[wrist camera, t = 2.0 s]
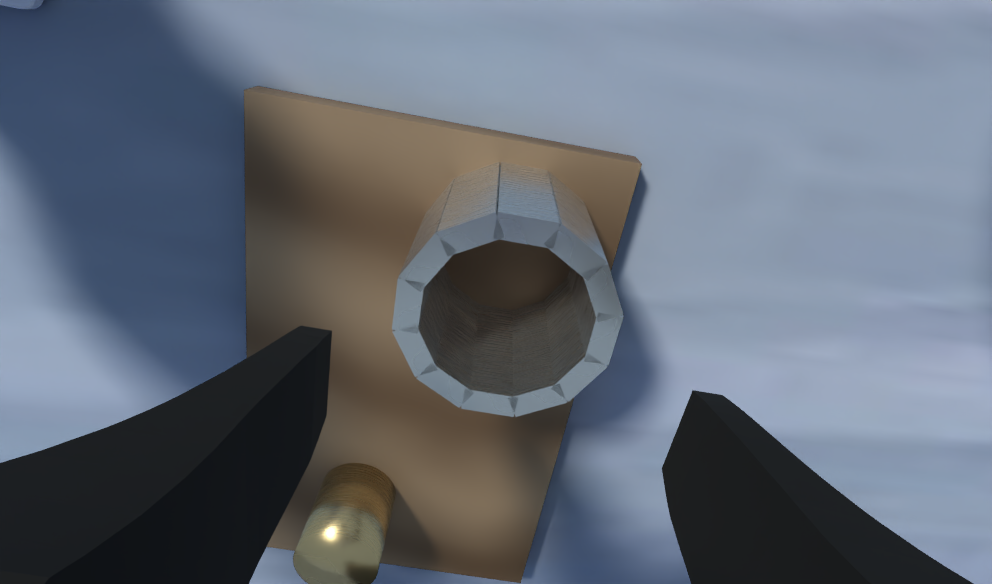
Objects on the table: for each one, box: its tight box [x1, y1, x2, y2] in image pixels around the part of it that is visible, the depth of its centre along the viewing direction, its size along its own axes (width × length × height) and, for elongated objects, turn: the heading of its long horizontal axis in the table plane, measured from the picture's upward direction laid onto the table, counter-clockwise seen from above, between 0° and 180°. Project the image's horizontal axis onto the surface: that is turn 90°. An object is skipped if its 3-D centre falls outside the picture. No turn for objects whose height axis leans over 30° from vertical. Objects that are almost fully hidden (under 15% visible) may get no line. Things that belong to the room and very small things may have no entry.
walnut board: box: [244, 86, 642, 583], centre depth 22 cm, size 19×12×1 cm, turn 170°
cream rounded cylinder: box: [293, 463, 396, 584], centre depth 22 cm, size 3×3×4 cm
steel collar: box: [392, 162, 624, 417], centre depth 17 cm, size 6×6×5 cm
